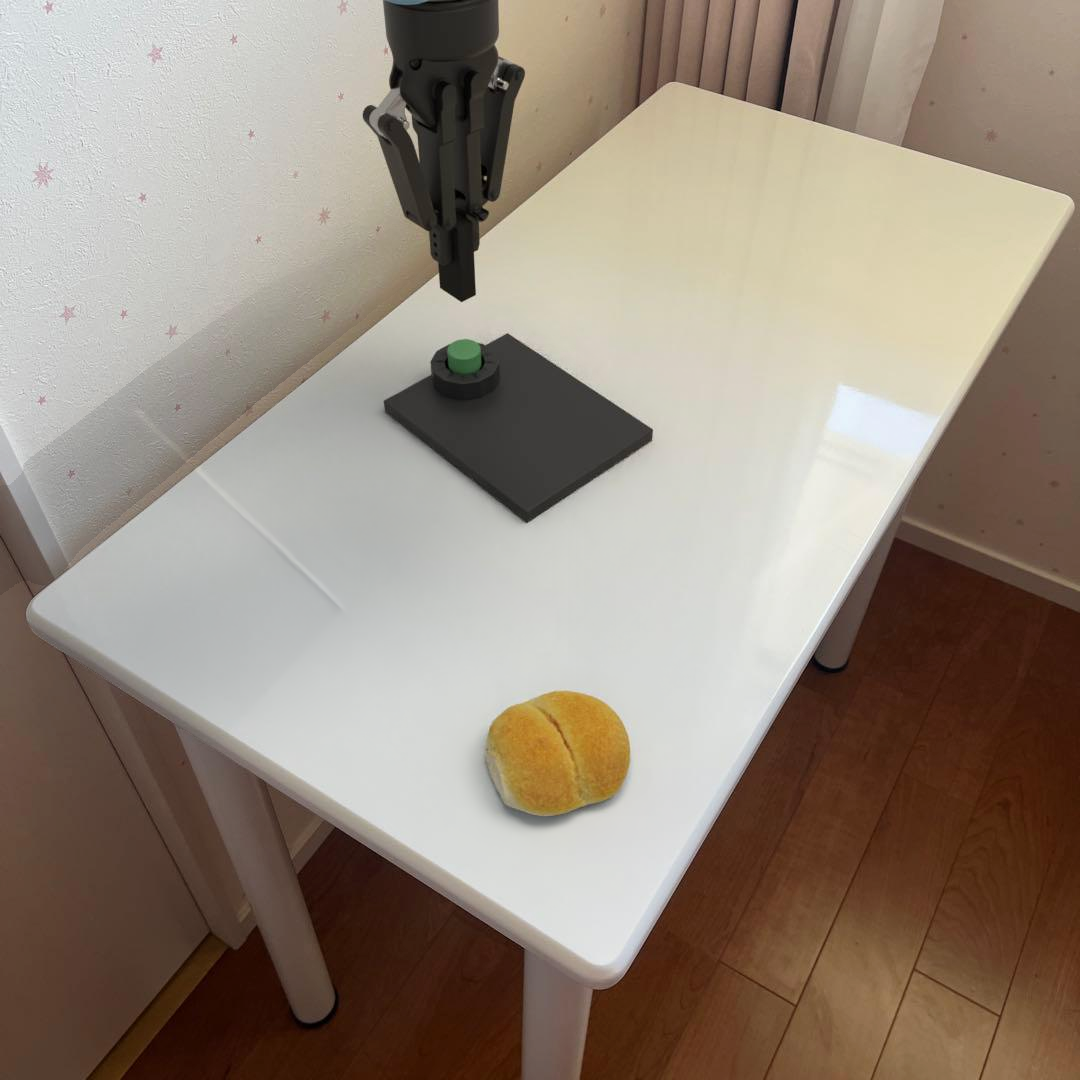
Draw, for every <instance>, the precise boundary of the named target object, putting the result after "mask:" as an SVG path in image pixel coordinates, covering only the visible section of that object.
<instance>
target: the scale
mask: <svg viewBox="0 0 1080 1080" xmlns="http://www.w3.org/2000/svg"><path fill="white" fill-rule="evenodd" d="M477 343H478V344H479V346H480V348H481V368H480V369H479V370H478V371H477V372H475V373H473V374H466V375H461V374H456V373H453V372H452V371H451V370H450V369H449V366H448V354H447V349H448V346H449V345H450V344H451V343H448V344H447V345H445V346H443V347H441V348H439V349H437V350H436V351H435V353H434V354H433V356H432V357H431V360H430V361H429V362H430V363H429V364H430V373H431V374H429V375H428V376H425V377H424V378H422V379H420V380H419V381H416V382H415V383H414V384H412V385H409V386H408V387H406V388H404V389H402V390H401V391H398V392H397V393H395V394H393V395H391V396H389V397H388V398H386V399H384V400H383V408H384V412H385V414H387V415H389V416H390V417H391V418H393V419H394V420H395V421H396V422H397V423H399V424H400V425H402V426H403V427H404V428H405V429H407V430H408V431H409V432H410V433H411V434H413V435H414V436H416V437H417V438H418V439H420V440H421V441H422V442H423V443H424V444H426V445H427V446H428V447H430V448H431V449H432V450H433V451H435V452H436V453H437V454H438V455H440V456H441V457H443V458H444V459H445V460H446V461H448V462H449V463H450V464H452V465H453V466H454V467H455V468H456V469H458V470H459V471H460V472H461V473H463V474H464V475H466V476H467V477H468V478H469V479H471V480H472V481H473V482H474V483H476V484H477V485H478V486H480V488H482V489H483V490H484V491H486V492H487V493H488V494H490V495H491V496H492V497H494V498H495V499H496V500H498V502H500V503H501V504H503V506H505V507H506V508H507V509H509V510H510V511H511V512H512V513H514V514H515V515H516V516H518V517H519V518H521V519H522V520H523V521H524V522H525V523H529V522H530V521H532V520H533V519H535V518H536V517H538V516H540V515H541V514H543V513H544V512H546V511H547V510H549V509H550V508H552V507H553V506H554V505H556V504H558V503H559V502H560V501H562V500H564V499H565V498H567V497H568V496H570V495H571V494H573V493H575V492H576V491H578V489H581V488H582V487H583V486H585V485H587V484H588V483H589V482H591V481H593V480H594V479H595V478H597V477H599V476H600V475H602V474H603V473H605V472H606V471H607V470H609V469H611V468H612V467H614V466H615V465H617V464H618V463H620V462H621V461H623V460H624V459H626V458H627V457H629V456H630V455H632V454H633V453H634V452H636V451H638V450H639V449H641V448H643V447H644V446H646V445H647V444H649V443H650V442H651V441H653V437H654V429H653V428H652V427H650V426H649V425H647V424H646V423H644V422H643V421H642V420H640V419H638V418H637V417H635V416H633V415H632V414H630V413H629V412H627V411H626V410H625V409H623V408H621V407H620V406H618V405H617V404H615V403H614V402H612V401H611V400H609V399H608V398H607V397H605V396H603V395H602V394H601V393H599V392H597V391H596V390H595V389H593V388H591V387H590V386H588V385H587V384H586V383H583V381H581V380H579V379H577V378H576V377H575V376H573V375H572V374H570V373H569V372H567V371H566V370H564V369H562V368H561V367H560V366H558V365H557V364H555V363H554V362H553V361H551V360H549V359H548V358H546V357H545V356H543V355H542V354H540V353H539V352H537V351H535V350H534V349H533V348H531V347H529V345H526V344H525V343H523V342H522V341H521V340H519V339H517V338H516V337H514V336H513V335H511V334H510V333H508V332H507V333H505V334H503V335H501V336H499V337H497V338H496V339H494V340H492V341H490V342H489V343H486V344H484V343H481V342H480V343H479V342H477Z"/></svg>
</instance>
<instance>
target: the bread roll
mask: <svg viewBox="0 0 1080 1080" xmlns="http://www.w3.org/2000/svg"><path fill="white" fill-rule="evenodd" d="M483 756H484V758H485V762H486V766H487V768H488V772H489V775H490V778H491V781H492V782H493V784H494V786H495V789H496V790H497V793H498V794H499V796H500V798H501V801H502V802H503V803H504V804H505V805H506V806H507V807H509V808H512V809H514V810H518V811H522V812H524V813H526V814H529V815H534V816H538V817H551V816H558V815H563V814H567V813H570V812H572V811H574V810H577V809H580V808H582V807H585V806H588V805H592V804H597V803H600V802H603V801H606V800H608V799H610V798H612V797H614V796H615V795H616V794H617V793H618V792H619V791H620V789H621V787H622V786H623V784H624V782H625V780H626V777H627V775H628V771H629V768H630V764H631V763H630V762H631V743H630V737H629V734H628V731H627V729H626V726H625V724H624V723H623V721H622V719H621V718H620V716H619V714H618V713H617V712H616V711H615V710H614V709H613V708H612V707H611V706H610V705H609V704H607V702H604V701H602V700H601V699H599V698H598V697H595V696H593V695H590V694H587V693H581V692H578V691H571V690H555V691H549V692H547V693H543V694H541V695H538V696H535V697H534V698H531V699H529V700H527V701H523V702H521V703H516V704H514V705H511V706H509V707H507V708H506V709H504V710H503V711H502V712H501V713H499V715H497V716H496V717H495V718H494V720H492V722H491V724H490V726H489V728H488V732H487V735H486V739H485V746H484V752H483Z"/></svg>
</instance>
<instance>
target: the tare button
mask: <svg viewBox="0 0 1080 1080" xmlns="http://www.w3.org/2000/svg"><path fill="white" fill-rule="evenodd" d="M478 343H479V342H477V341H476V340H473V339H468V338H461V339H456V340H454V341H453V342H450V343H449V344H450V345H449V344H448V345H449V346H448V349H447V354H448V366H449V369H450V370H451V371H452V372H453V373H456V374H461V375H466V374H473V373H475V372H477V371H478V370H479V369H480V368H481V348H480V346H479V344H478Z"/></svg>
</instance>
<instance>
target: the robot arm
mask: <svg viewBox="0 0 1080 1080" xmlns="http://www.w3.org/2000/svg"><path fill="white" fill-rule="evenodd" d="M382 6H383V7H382V8H383V17H384V18H383V19H384V27H385V37H386V41H387V43H388V46H389V49H390V52H391V55H392V66H391V70H390V74H389V76H388V77H389V78H388V84H389V85H388V86H389V88H390V90H389V92H388V93H387V95H386V96H385V97H384V98H383V99H382V101H381V102H380V104H378V106H375V105H373V104H370V105H367V106H366V107H364V109H363V111H362V119H363V122H364V123H366V125H367V126H368V127H369V128H370V129H371V130H372V132H373V133H374V134H375V136H376V137H377V139H378V142H379V145H380V148H381V151H382V155H383V157H384V160H385V163H386V166H387V170H388V171H389V174H390V177H391V181H392V184H393V187H394V190H395V193H396V197H397V198H398V202H399V204H400V207H401V211H402V213H403V216H404V218H405V219H407V220H408V221H410V222H412V223H413V224H415V225H417V226H418V227H420V228H421V229H423V230H425V231H426V232H428V237H429V239H428V240H429V247H430V248H429V250H430V251H429V252H430V256H431V258H432V259H433V261H435V262H437V266H438V278H439V279H438V280H439V289H441V290H442V291H443V292H446V293H447V294H448V295H450V296H451V297H453V298H454V299H455V300H457V301H459V302H460V303H463V302H466V301H467V300H469V299H471V298H473V297H475V296H477V290H476V268H475V267H476V266H475V265H476V264H475V252H477V251H479V247H480V245H481V244H480V243H481V242H480V223H483V222H485V221H486V220H487V219H488V218H489V215H490V211H489V210H488V209H486V208H484V206H485V205H486V204H487V203H488V202H490V203H491V202H492V203H494V202H496V201H497V200H498V199H499V197H500V195H501V189H502V184H503V176H504V170H505V165H506V159H507V152H508V147H509V140H510V133H511V127H512V121H513V113H514V108H515V102H516V99H517V96H518V95H519V91H520V90H521V87H522V84H523V82H524V79H525V77H526V71H525V68H524V67H523V66H521V65H518V64H516V63H514V62H512V61H510V60H507V59H506V58H504V57H501V56H499V50H498V48H497V47H496V45H495V44H496V43H497V41H498V39H499V37H500V19H499V18H500V16H499V0H382ZM406 110H407V112H409V114H410V115H411V124H410V122H409V121H408V119H407V116H406V112H405V111H406ZM410 125H412V129H413V130H414V132H415V134H416V137H417V147H418V148H417V149H418V154H417V150H416V147H415V144H414V142H413V138H412V137H411V135H410V134H409V132H408V131H407V130H409V128H410ZM485 177H486V179H485Z"/></svg>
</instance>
